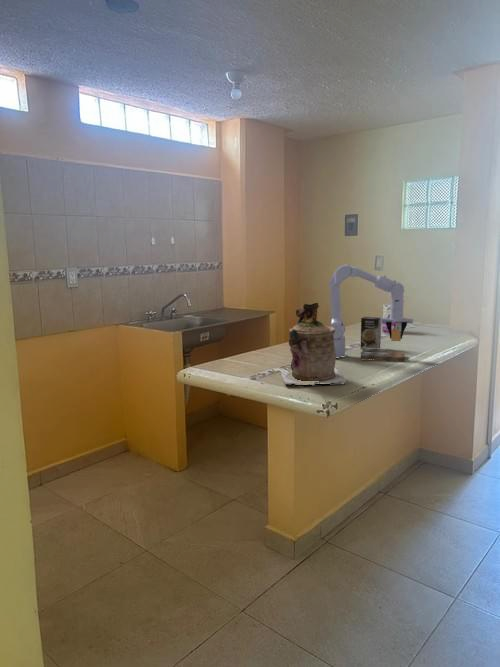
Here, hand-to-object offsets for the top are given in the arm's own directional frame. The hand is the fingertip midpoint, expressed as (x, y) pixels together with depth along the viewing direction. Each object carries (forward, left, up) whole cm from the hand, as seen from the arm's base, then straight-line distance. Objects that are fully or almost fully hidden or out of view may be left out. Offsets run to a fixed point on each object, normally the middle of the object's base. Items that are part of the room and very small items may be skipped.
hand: (395, 338), depth 229 cm
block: (0, 0, -1) cm, 1 cm away
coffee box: (+8, +22, -10) cm, 25 cm away
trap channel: (-4, +5, -10) cm, 11 cm away
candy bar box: (+50, +42, -10) cm, 66 cm away
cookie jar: (-51, +2, -10) cm, 52 cm away
